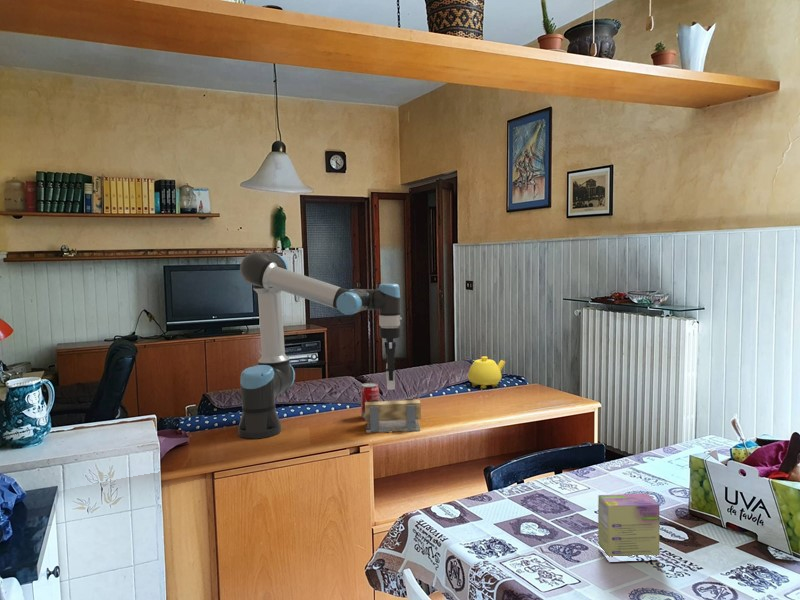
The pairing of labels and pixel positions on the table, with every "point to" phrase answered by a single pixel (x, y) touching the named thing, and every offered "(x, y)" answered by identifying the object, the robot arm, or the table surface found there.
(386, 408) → the rail
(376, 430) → the bracket mount
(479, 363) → the teapot
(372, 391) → the soda can
